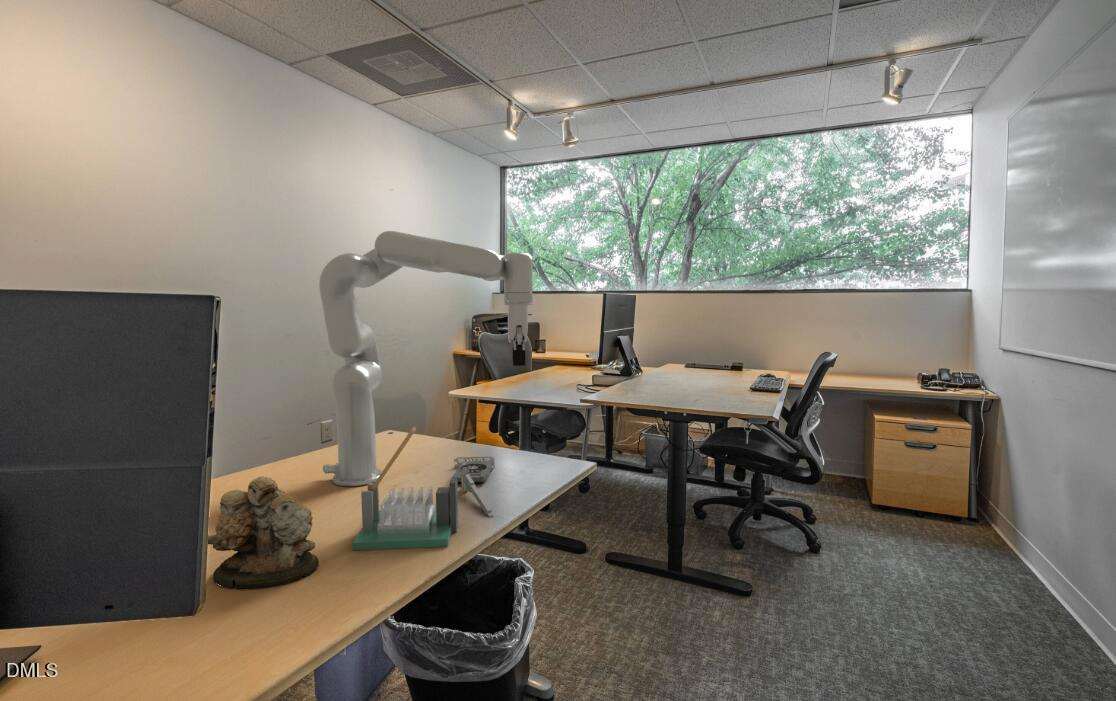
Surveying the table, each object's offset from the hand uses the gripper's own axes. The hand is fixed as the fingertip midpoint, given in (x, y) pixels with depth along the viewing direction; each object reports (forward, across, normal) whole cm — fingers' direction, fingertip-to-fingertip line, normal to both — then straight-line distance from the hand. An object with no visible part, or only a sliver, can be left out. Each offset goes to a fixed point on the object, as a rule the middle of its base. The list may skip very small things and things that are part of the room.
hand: (518, 363), depth 143 cm
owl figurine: (+31, +48, -46) cm, 74 cm away
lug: (+31, +34, -16) cm, 49 cm away
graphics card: (+32, -1, -14) cm, 34 cm away
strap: (+17, +33, -27) cm, 46 cm away
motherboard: (+31, +34, -24) cm, 52 cm away
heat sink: (+29, +33, -24) cm, 51 cm away
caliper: (+32, +19, -11) cm, 38 cm away
